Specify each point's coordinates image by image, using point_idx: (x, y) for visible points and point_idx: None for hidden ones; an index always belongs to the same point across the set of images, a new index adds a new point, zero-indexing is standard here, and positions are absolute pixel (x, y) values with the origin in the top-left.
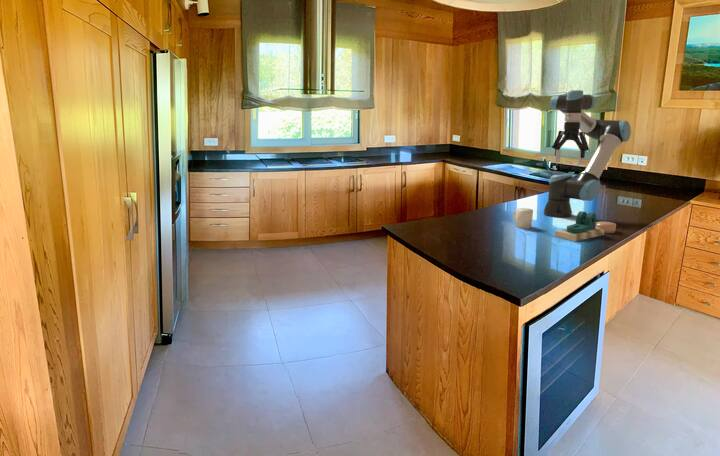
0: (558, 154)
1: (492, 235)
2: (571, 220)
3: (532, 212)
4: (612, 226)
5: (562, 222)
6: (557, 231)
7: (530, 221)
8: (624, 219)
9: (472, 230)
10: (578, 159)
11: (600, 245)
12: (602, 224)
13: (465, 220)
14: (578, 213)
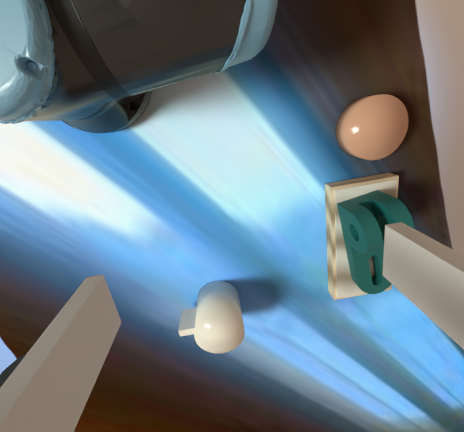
0: (71, 385)
1: (258, 391)
2: (204, 107)
3: (240, 318)
4: (404, 132)
5: (217, 162)
6: (339, 297)
7: (240, 306)
8: None
9: (204, 404)
10: (424, 311)
11: None
12: (379, 151)
13: (103, 379)
14: (367, 252)
